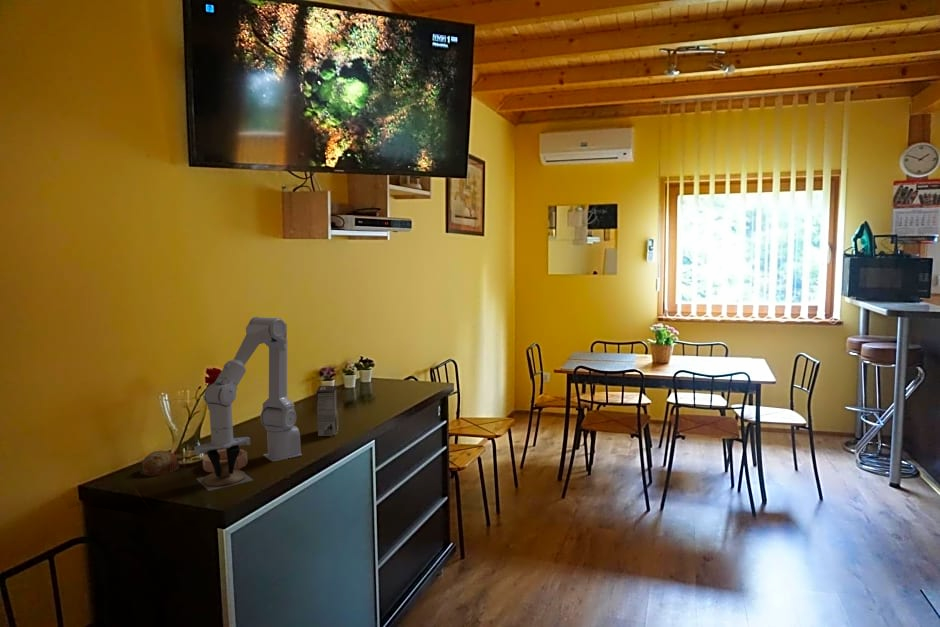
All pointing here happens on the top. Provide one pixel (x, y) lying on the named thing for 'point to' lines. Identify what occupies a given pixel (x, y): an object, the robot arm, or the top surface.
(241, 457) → the bowl
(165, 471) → the bread roll
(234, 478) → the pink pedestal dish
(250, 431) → the top surface
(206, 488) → the mat
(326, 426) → the coffee box
